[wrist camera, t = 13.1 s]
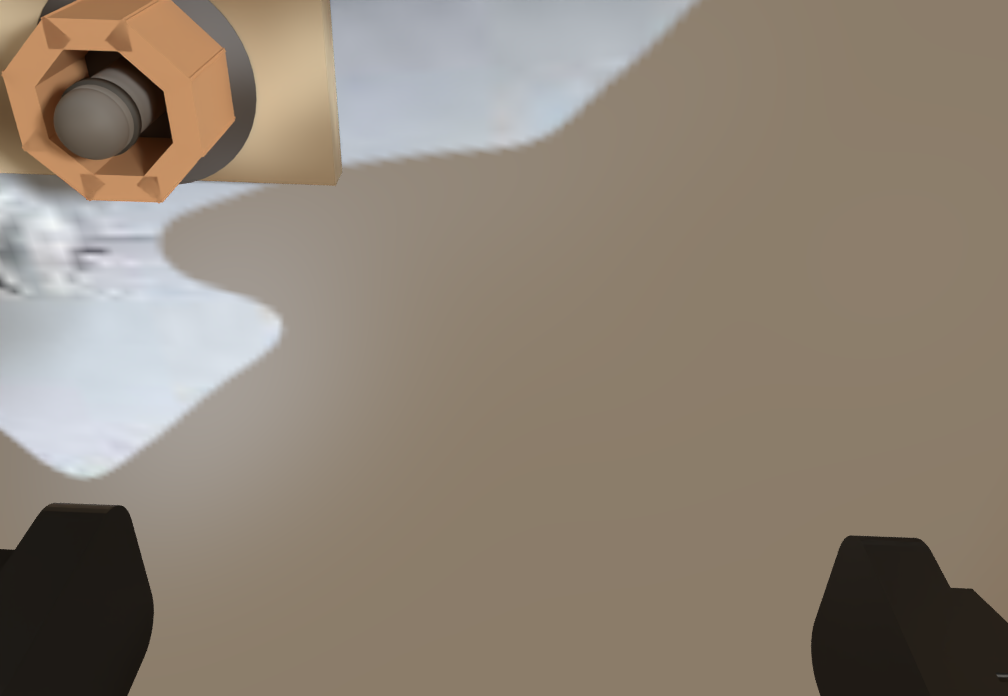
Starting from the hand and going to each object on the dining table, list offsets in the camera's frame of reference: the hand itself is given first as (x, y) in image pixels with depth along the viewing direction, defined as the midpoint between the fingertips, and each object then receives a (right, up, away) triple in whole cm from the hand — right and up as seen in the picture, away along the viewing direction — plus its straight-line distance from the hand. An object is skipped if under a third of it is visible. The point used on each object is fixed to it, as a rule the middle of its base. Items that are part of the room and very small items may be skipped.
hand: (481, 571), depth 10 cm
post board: (-13, +17, +23) cm, 31 cm away
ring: (-14, +13, +24) cm, 30 cm away
